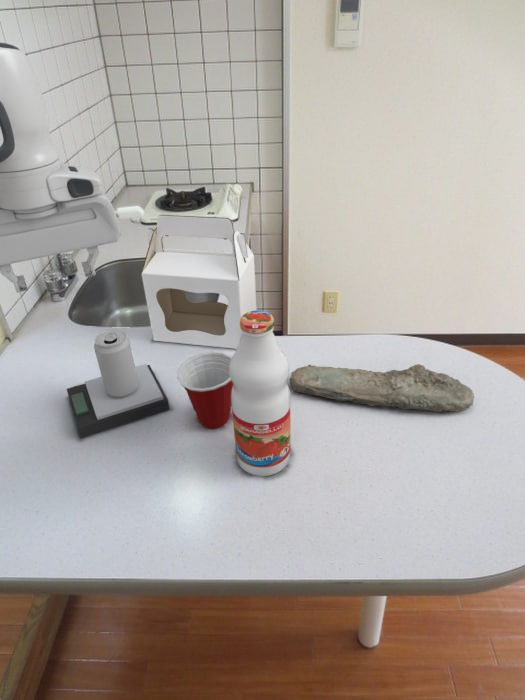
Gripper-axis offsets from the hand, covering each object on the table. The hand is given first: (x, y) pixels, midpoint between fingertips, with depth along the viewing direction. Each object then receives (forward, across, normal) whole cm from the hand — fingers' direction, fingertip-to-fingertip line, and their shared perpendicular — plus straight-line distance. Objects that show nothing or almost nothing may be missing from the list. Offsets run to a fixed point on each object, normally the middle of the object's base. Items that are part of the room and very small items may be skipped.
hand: (56, 282), depth 75 cm
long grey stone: (+33, +51, -10) cm, 62 cm away
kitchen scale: (+33, +5, +11) cm, 35 cm away
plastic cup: (+33, +20, -2) cm, 39 cm away
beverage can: (+30, +6, +11) cm, 33 cm away
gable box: (+33, +30, +28) cm, 53 cm away
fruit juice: (+33, +24, -15) cm, 44 cm away
